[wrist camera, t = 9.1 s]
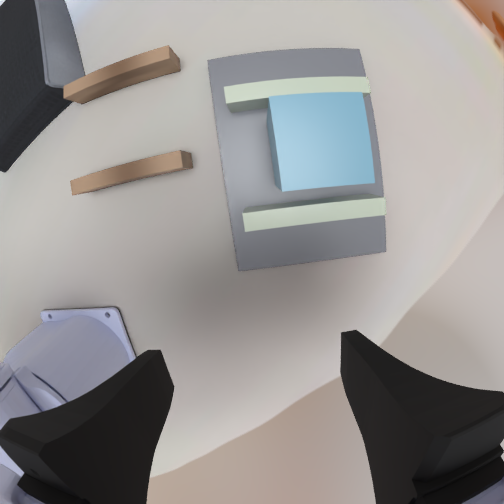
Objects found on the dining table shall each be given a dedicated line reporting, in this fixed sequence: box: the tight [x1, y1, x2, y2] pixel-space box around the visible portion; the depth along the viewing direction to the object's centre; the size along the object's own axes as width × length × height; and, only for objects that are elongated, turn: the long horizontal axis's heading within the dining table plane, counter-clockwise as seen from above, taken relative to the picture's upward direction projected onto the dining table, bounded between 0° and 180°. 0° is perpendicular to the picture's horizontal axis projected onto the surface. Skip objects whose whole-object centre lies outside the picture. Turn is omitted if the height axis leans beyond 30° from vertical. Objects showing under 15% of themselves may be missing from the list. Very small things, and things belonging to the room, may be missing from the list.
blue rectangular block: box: [266, 92, 375, 192], centre depth 14 cm, size 4×4×6 cm
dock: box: [207, 48, 386, 271], centre depth 16 cm, size 10×14×3 cm
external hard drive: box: [0, 0, 85, 172], centre depth 13 cm, size 13×19×4 cm
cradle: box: [64, 45, 193, 195], centre depth 16 cm, size 8×8×2 cm
